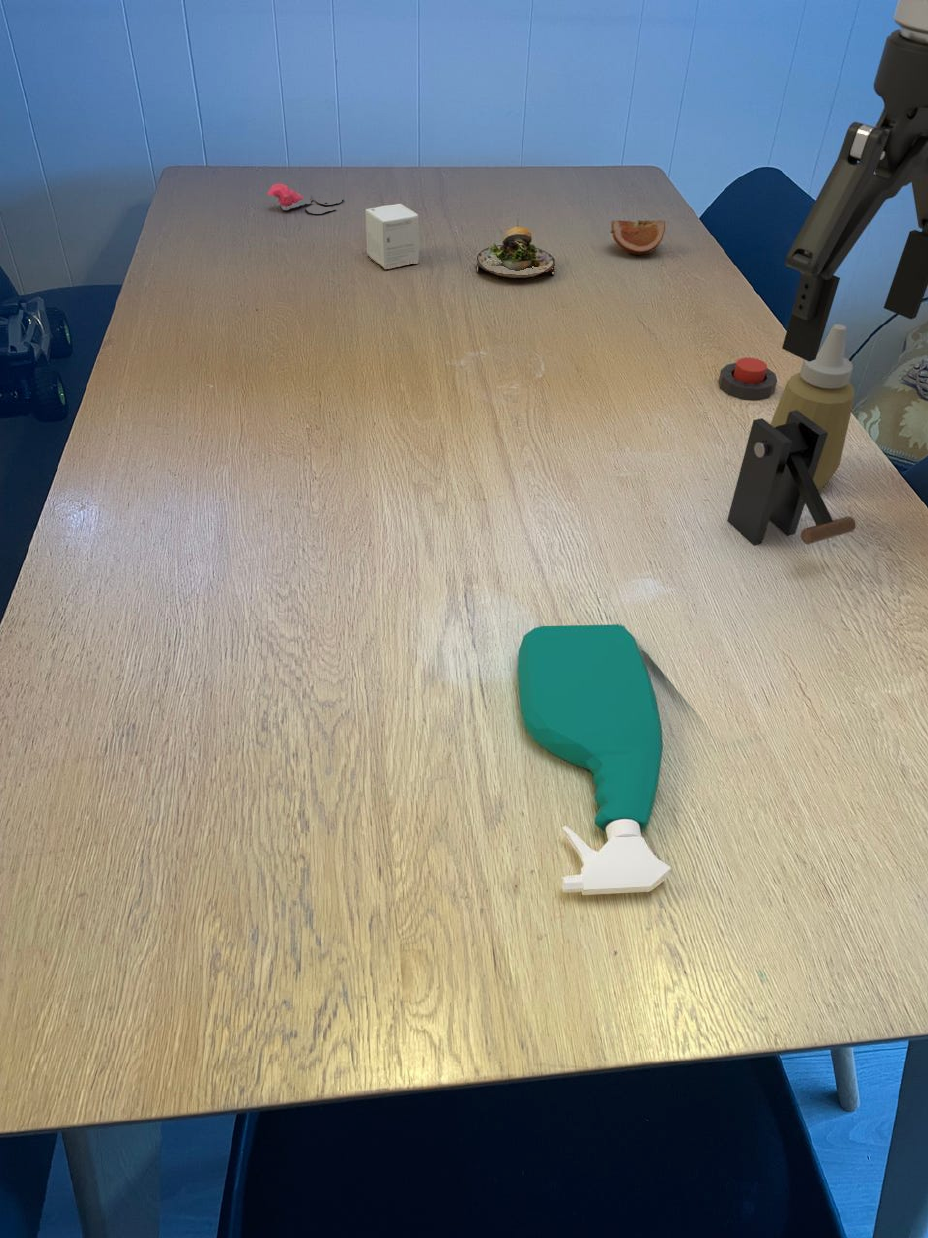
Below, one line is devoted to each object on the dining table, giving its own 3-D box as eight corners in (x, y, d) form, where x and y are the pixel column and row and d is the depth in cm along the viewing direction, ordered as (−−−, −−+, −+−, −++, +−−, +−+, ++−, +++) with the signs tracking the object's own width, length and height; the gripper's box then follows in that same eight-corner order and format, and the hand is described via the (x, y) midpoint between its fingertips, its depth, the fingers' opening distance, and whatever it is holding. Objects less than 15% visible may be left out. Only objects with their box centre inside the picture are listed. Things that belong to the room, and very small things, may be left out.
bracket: (815, 556, 91) (854, 443, 82) (756, 573, 89) (791, 459, 80) (758, 506, 97) (790, 396, 88) (702, 521, 95) (729, 409, 86)
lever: (845, 536, 85) (861, 525, 83) (801, 549, 84) (816, 538, 81) (793, 431, 88) (808, 418, 86) (750, 442, 86) (763, 428, 84)
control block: (800, 417, 111) (807, 394, 109) (752, 428, 109) (758, 405, 107) (750, 380, 117) (756, 358, 115) (704, 390, 115) (709, 368, 113)
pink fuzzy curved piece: (312, 222, 154) (310, 194, 151) (260, 208, 158) (256, 181, 155) (355, 201, 162) (353, 174, 159) (303, 189, 166) (301, 162, 163)
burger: (463, 277, 139) (464, 226, 134) (492, 250, 147) (494, 200, 142) (539, 292, 136) (544, 240, 131) (565, 263, 144) (569, 213, 139)
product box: (383, 271, 140) (382, 221, 135) (366, 257, 144) (364, 208, 139) (420, 264, 142) (419, 214, 137) (401, 250, 146) (400, 201, 141)
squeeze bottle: (816, 465, 103) (866, 308, 91) (839, 508, 97) (897, 346, 85) (743, 465, 103) (785, 308, 91) (763, 508, 97) (810, 346, 85)
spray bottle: (635, 645, 81) (700, 900, 63) (511, 647, 81) (540, 905, 63) (641, 620, 79) (708, 877, 61) (513, 622, 79) (544, 881, 61)
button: (769, 381, 112) (773, 368, 110) (745, 387, 110) (748, 373, 109) (751, 368, 114) (754, 355, 113) (727, 373, 113) (730, 360, 112)
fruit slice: (609, 258, 145) (613, 226, 142) (605, 242, 150) (609, 210, 147) (663, 260, 145) (668, 228, 142) (657, 244, 150) (662, 212, 147)
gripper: (996, 6, 70) (900, 282, 85) (783, 42, 59) (714, 354, 73) (1094, 25, 66) (976, 312, 80) (885, 67, 55) (790, 393, 69)
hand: (850, 332), depth 77 cm, fingers open, 13 cm apart
